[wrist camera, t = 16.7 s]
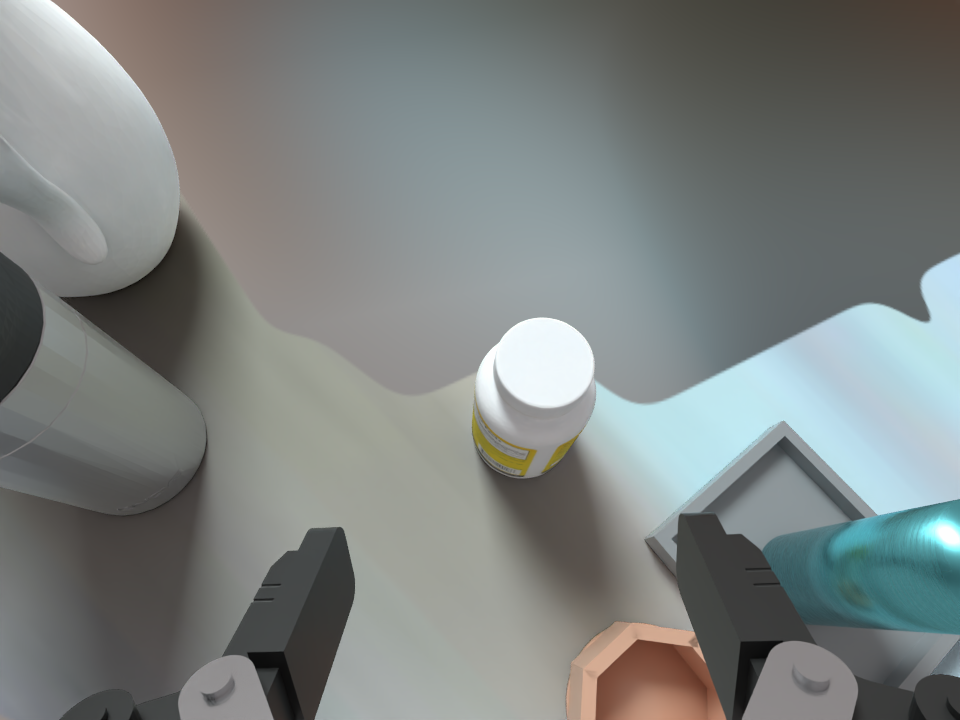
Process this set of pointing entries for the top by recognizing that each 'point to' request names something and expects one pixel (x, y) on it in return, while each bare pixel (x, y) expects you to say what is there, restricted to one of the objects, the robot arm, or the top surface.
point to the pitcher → (78, 158)
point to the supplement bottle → (533, 397)
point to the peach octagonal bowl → (641, 677)
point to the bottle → (876, 571)
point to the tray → (797, 507)
